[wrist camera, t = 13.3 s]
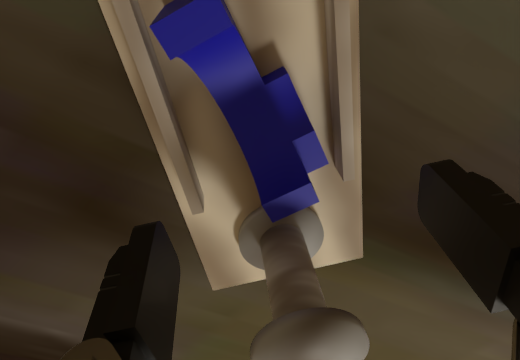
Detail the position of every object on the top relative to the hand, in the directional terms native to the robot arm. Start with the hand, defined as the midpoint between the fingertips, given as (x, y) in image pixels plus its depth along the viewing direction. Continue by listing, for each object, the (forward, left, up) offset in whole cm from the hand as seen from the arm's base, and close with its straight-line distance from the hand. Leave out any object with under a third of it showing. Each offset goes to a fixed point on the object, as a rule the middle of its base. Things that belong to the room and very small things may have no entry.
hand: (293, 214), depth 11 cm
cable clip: (0, 0, -14) cm, 14 cm away
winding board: (0, +5, -15) cm, 16 cm away
